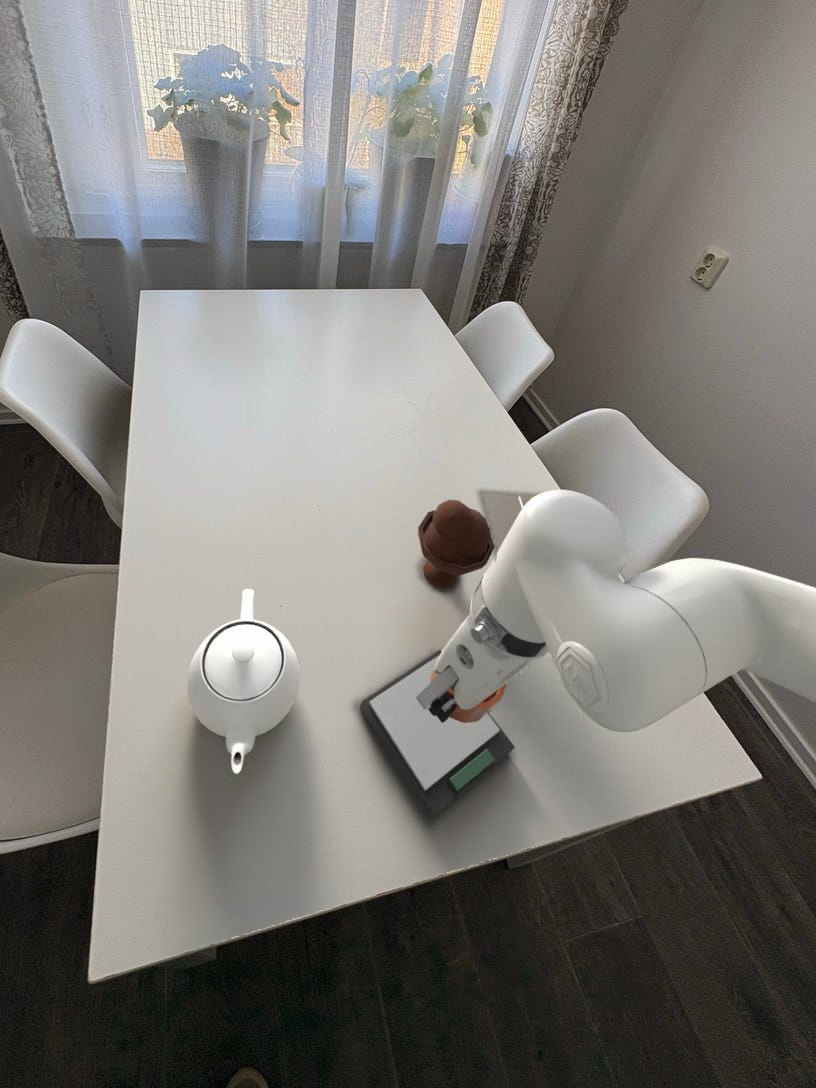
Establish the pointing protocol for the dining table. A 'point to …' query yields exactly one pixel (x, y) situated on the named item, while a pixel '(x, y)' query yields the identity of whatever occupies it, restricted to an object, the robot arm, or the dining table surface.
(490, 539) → the ice cream bowl
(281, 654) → the teapot
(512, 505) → the platform
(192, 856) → the dining table surface
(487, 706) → the dip bowl
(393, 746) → the scale
